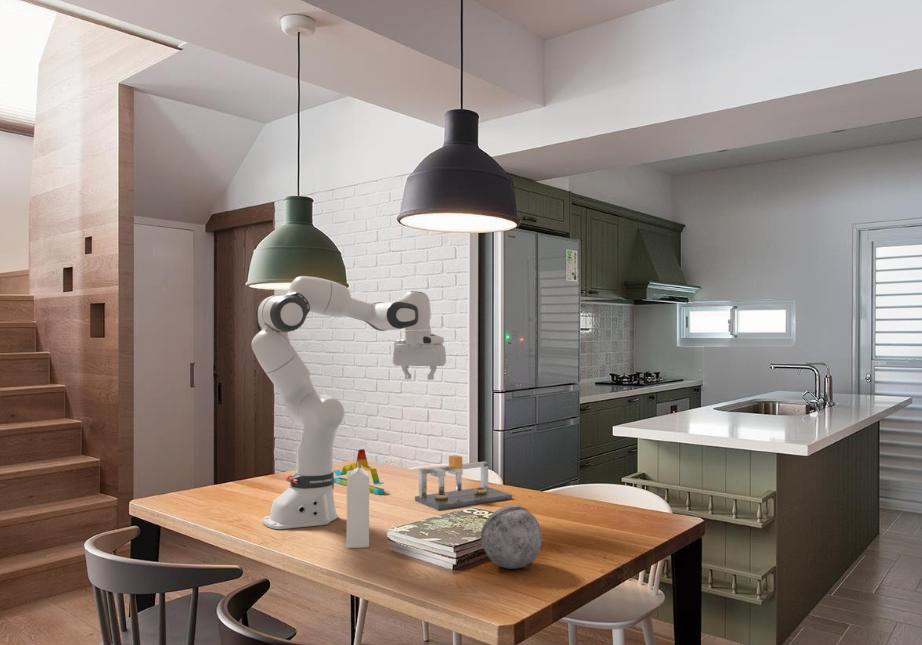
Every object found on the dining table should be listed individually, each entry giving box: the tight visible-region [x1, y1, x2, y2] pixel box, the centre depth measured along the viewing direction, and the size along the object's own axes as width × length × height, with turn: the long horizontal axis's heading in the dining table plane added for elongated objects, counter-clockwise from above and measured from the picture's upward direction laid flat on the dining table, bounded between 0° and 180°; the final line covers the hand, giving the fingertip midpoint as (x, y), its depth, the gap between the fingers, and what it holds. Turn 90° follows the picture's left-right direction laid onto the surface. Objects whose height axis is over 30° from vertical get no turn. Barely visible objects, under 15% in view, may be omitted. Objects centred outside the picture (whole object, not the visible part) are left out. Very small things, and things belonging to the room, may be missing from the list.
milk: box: [346, 467, 370, 549], centre depth 188 cm, size 6×6×22 cm
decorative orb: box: [480, 505, 543, 570], centre depth 169 cm, size 15×14×15 cm
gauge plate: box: [414, 460, 513, 511], centre depth 241 cm, size 30×16×11 cm, turn 123°
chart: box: [333, 448, 385, 496], centre depth 262 cm, size 30×3×15 cm, turn 42°
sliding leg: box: [447, 454, 464, 491], centre depth 242 cm, size 3×6×12 cm, turn 32°
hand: (419, 379), depth 236 cm, fingers open, 8 cm apart
